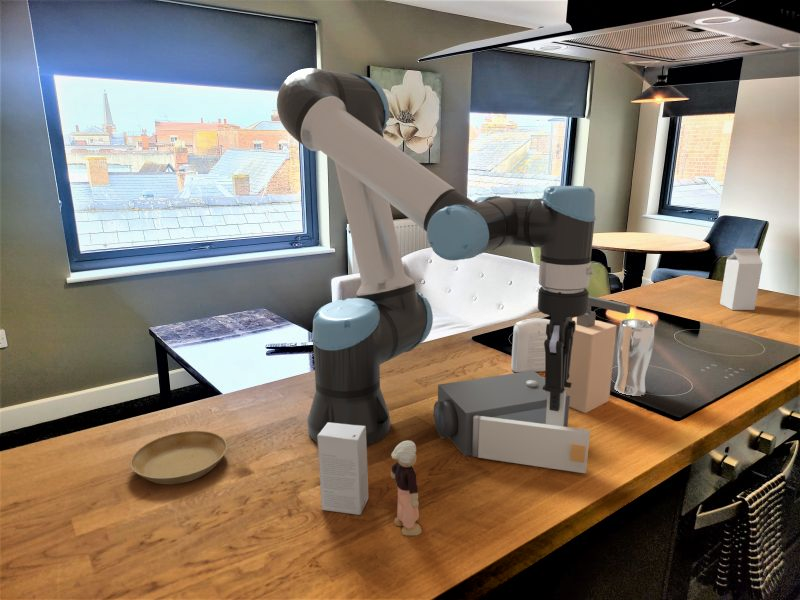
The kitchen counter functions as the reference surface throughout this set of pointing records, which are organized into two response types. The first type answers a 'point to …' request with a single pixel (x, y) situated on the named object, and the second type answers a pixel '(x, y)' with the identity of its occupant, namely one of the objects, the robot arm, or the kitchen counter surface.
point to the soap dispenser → (592, 357)
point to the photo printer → (529, 345)
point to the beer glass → (633, 355)
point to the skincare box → (343, 468)
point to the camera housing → (490, 404)
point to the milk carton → (741, 280)
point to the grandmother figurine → (406, 488)
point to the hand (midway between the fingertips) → (554, 424)
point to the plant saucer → (179, 457)
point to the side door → (530, 443)
